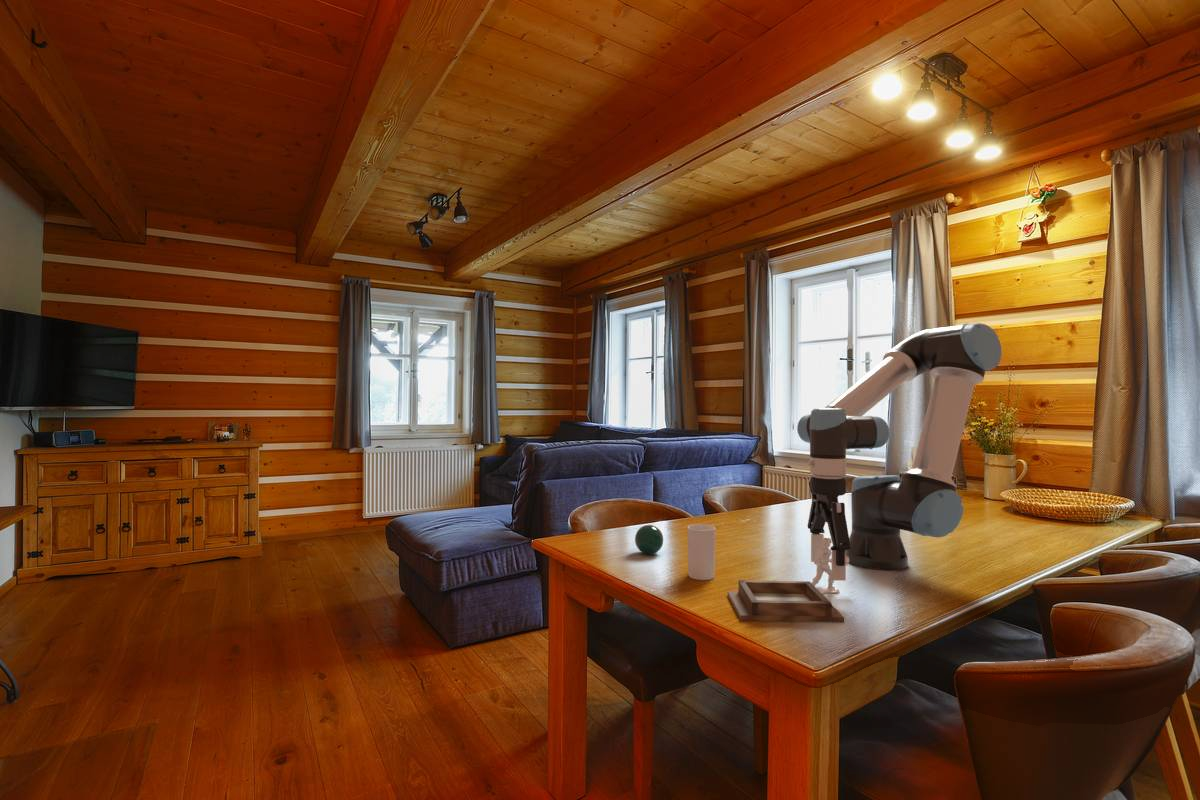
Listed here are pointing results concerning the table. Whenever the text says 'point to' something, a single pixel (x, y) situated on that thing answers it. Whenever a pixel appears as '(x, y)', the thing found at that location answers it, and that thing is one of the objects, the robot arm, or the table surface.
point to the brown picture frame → (782, 602)
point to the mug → (701, 551)
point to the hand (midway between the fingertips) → (827, 570)
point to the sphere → (649, 539)
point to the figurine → (825, 567)
